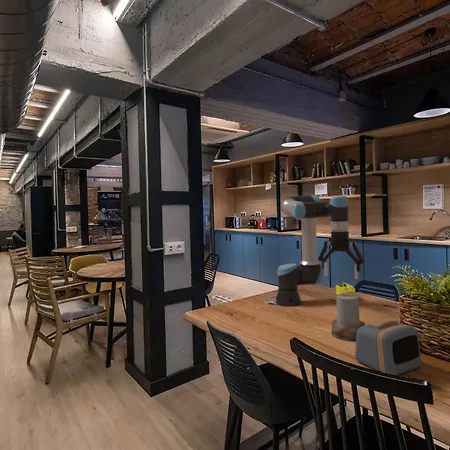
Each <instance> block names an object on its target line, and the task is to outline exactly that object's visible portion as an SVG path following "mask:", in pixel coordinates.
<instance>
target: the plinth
mask: <svg viewBox="0 0 450 450" xmlns="http://www.w3.org/2000/svg"><path fill="white" fill-rule="evenodd" d="M364 325H366V323H365V322H364V321H362V320H360V325H359V326H357V327H344V326H341V325H339V324H337V318H336V319H333V320H332V321H331V331H330V332H331V336H332V337H334V338H336V339H337V340H341V341H347V342H348V341H349V342H356V336H357V330H358V329H359V328H360V327H362V326H364Z"/></svg>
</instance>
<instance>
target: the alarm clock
mask: <svg viewBox="0 0 450 450" xmlns="http://www.w3.org/2000/svg"><path fill="white" fill-rule="evenodd" d="M354 357H355V359H356V360H357V361H358V362H359V363H361V364H363V365H364V366H367V367H369V368H371V369H373V370H375V371H377V372H379V371H381V372H385V373H390V374H394V375H397V376H399V375H402V374H404V373H408V372H410V371H413V370H416V369H418V368H419V367H420V366H421V364H422V359H421V348H420V339H419V333H418V330H417V328H415V327H414V326H411V325H407V324H403V323H399V321H398V320H397V319H392V318H386V317H385V318H383V317H382V318H375V319H373V320H370V321H369V322H368V323H367V324H365V325H364V326H362V327H360V328H359V329H358V330H357V336H356V341H355V354H354ZM381 372H380V373H381Z"/></svg>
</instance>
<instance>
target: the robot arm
mask: <svg viewBox="0 0 450 450" xmlns="http://www.w3.org/2000/svg"><path fill="white" fill-rule="evenodd" d="M280 210H281V212H282V213H283V214H284V215H286V216H293V218H294V219H299V220H300V221H301V224H300V225H301V255H302V256H301V258H302V259H301V260H300V262H299V265H298V264H296V263H286V264H282V265H279V266H278V267H277V283H278V284H277V288H278V291H277V294H276V298H275V304H277V306H278V305H279V306H284V307H295V306H299V305H301V304H302V298H301V295H300V293H299V290H298V289H299V288H298V286H308V285H313V286H314V285H319V284H321V283H322V281H323V279H324V277H327V276H328V277H329V263H328V262H329V261H327V260H328V259H330V257H331V256H332V254H333V253H334V252H335V251H336V252H340V253H341V252H343V253H344V252H345V253H346V254H347V255H348V256H349V257H350V258H351V259H352V260H353V262H354V263H355V264H354V280H358V279H359V272H361V265H362V264H364V263H365V262H366V261H365V259H364V257H363V255H362V253H361V251H360V249H359V247H358V244H357V241H352V242H350V237H349V236H350V233H349V229H350V226H349V199H348V196H346V195H345V196H343V195H342V196H341V195H340V196H331V197H330V200H326V201H325V200H324V201H322V200H321V199H320V197H319V196H318V195H316V194H315V195H314V194H312V195H311V194H308V195H292V196H288V197H286V198H284V199H283V200H282V201H281V203H280ZM327 217H328V218H330V229H331V231H330V238H331V239H330V241H329V240H326V241H324V242H323V243H324V244H323V247H322V249H321V252H320V254H319V256H318V253H317V250H318V249H317V244H318V243H317V220H318V219H320V218H327ZM330 246H331V249H330V250H329V251H328V252H327V250H328V248H329V247H330ZM350 246H351V247H352V249H353V251H354V253H355V254H356V255H355V254H354V253H353V251H351V248H350ZM326 252H327V254H326ZM317 256H318V257H317ZM319 261H320V262H321V264H320V262H319Z"/></svg>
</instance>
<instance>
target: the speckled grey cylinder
mask: <svg viewBox="0 0 450 450" xmlns="http://www.w3.org/2000/svg"><path fill="white" fill-rule="evenodd" d="M335 297H336V319H337V324H339V325H341V326H344V327H357V326H359V325H360V321H361V320H360V296H359V295H357V294H356V293H355V294H348V293H344V294H338V295H337V294H336V295H335Z"/></svg>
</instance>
